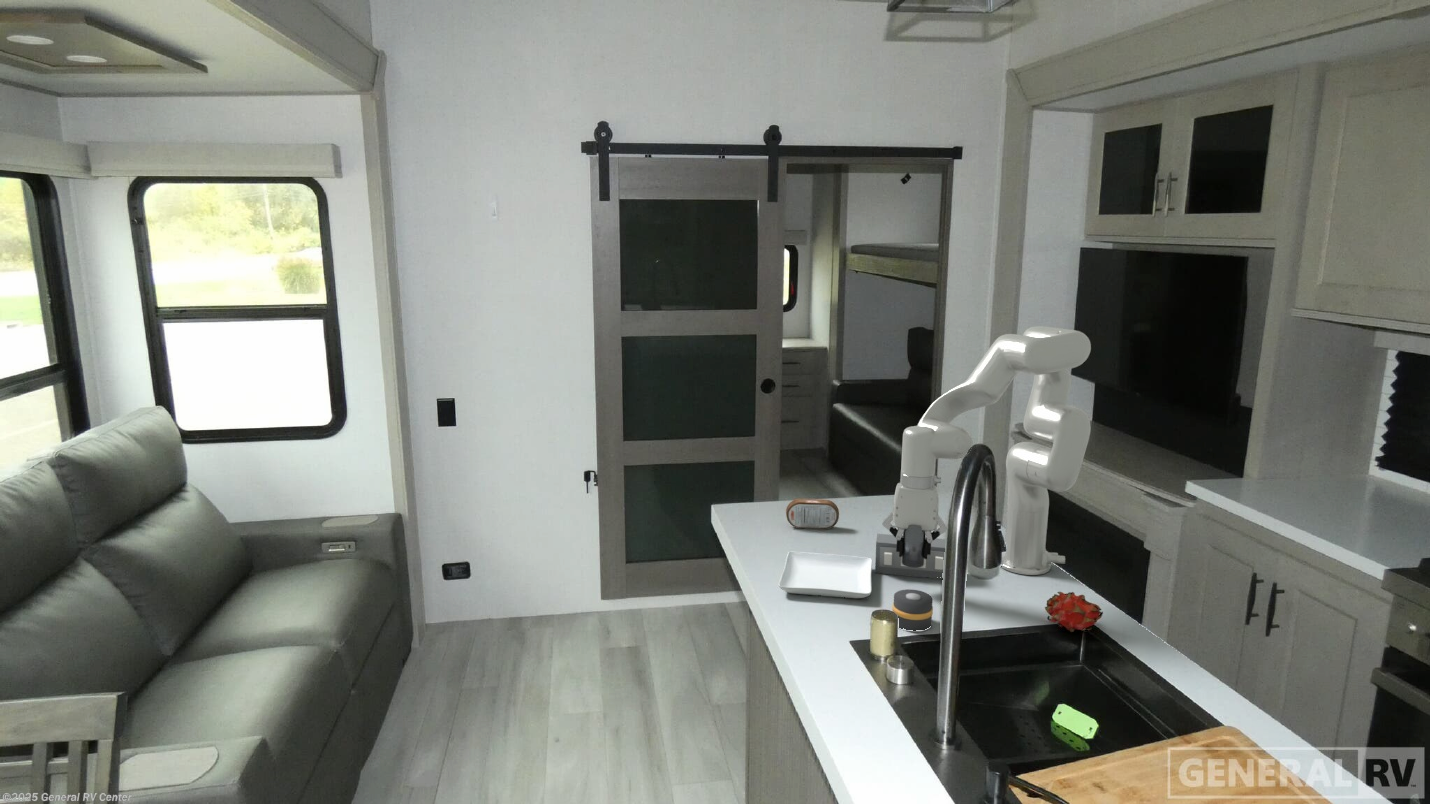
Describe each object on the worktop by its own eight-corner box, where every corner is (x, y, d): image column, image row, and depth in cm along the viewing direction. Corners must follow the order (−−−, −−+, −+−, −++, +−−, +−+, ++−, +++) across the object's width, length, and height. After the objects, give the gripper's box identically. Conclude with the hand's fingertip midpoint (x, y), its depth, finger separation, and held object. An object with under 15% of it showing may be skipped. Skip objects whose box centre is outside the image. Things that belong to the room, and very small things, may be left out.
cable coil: (931, 616, 175) (933, 589, 174) (932, 634, 167) (933, 606, 166) (892, 612, 177) (893, 586, 176) (891, 630, 169) (892, 602, 168)
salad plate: (871, 606, 181) (871, 592, 180) (777, 598, 185) (777, 585, 184) (872, 569, 201) (872, 556, 200) (787, 563, 205) (787, 550, 204)
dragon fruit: (1037, 630, 172) (1094, 641, 171) (1052, 624, 164) (1112, 635, 163) (1038, 591, 175) (1094, 601, 174) (1052, 583, 167) (1111, 593, 166)
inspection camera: (923, 559, 189) (926, 519, 187) (923, 568, 184) (926, 527, 182) (901, 557, 190) (904, 517, 188) (901, 566, 185) (903, 525, 183)
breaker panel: (949, 570, 199) (951, 539, 198) (951, 582, 192) (953, 551, 190) (876, 563, 204) (877, 533, 202) (874, 575, 196) (875, 544, 195)
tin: (838, 527, 230) (839, 498, 228) (839, 530, 227) (839, 502, 225) (785, 525, 231) (786, 497, 230) (785, 529, 228) (786, 501, 227)
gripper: (955, 478, 184) (950, 553, 188) (880, 473, 188) (876, 546, 192) (957, 488, 177) (951, 565, 181) (878, 482, 181) (874, 558, 185)
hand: (913, 555), depth 186 cm, fingers closed on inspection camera, 5 cm apart
